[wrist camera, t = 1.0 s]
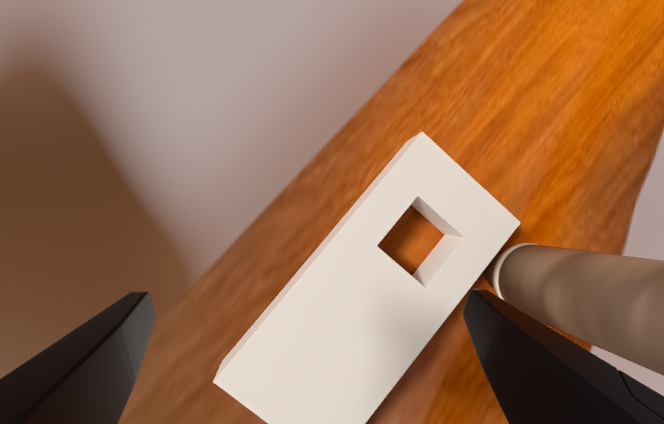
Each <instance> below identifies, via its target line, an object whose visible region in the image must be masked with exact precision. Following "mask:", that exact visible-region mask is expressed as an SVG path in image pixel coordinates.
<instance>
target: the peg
mask: <svg viewBox="0 0 664 424" xmlns="http://www.w3.org/2000/svg"><path fill="white" fill-rule="evenodd" d="M485 274H486V279H487V281H488V283H489V284H490V286H491V287H492V288H494V291H495V293H496V296H498V297H499V298H501V299H503V300H504V301H506V302H507V303H509V304H511V305H512V306H514V307H516V308H517V309H519V310H521V311H522V312H524V313H526V314H527V315H529V316H531V317H532V318H534V319H536V320H537V321H539V322H541V323H544V324H546V325H548V326H551V327H553V328H555V329H558V330H560V331H562V332H565V333H567V334H569V335H571V336H574V337H576V338H578V339H581V340H583V341H585V342H588V343H590V344H592V345H595V346H597V347H599V348H601V349H604V350H606V351H608V352H611V353H613V354H615V355H618V356H620V357H622V358H625V359H627V360H629V361H632V362H634V363H636V364H638V365H641V366H643V367H645V368H648V369H650V370H652V371H655V372H657V373H659V374H662V375H664V261H660V260H652V259H645V258H644V259H643V258H637V257H628V256H621V255H613V254H605V253H597V252H590V251H582V250H574V249H566V248H558V247H550V246H542V245H538V244H532V243H519V244H516V245H513V246H511V247H509V248H508V249H506V250H505V251H504V252H503V253H499V254H496V255H495V257H494V258H493V259H492V260H491V262H490V263H489V264H488V266H487V267H486V271H485Z"/></svg>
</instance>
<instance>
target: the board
mask: <svg viewBox="0 0 664 424" xmlns="http://www.w3.org/2000/svg"><path fill="white" fill-rule="evenodd" d="M410 205H412V206H413V207H414V208H415V209H416V210H417V211H418V212H419V213H421V214H422V215H423V216H424V217H425V218H426V219H427V220H428V221H430V222H431V223H432V224H433V225H434V226H435V227H436V228H437V229H439V230H440V231H441V232H442V233H443V234H444V236H443V237H442V239H441V240H440V241H439V242H438V244H437V245H436V246H435V247H434V249H433V250H432V251H431V252H430V254H429V255H428V256H427V257H426V259H425V260H424V261H423V262H422V264H421V265H420V266H419V267H418V269H417V270H416V271H415V272H414V274H413V275H412V276H411V275H410V274H409V273H408V272H406V271H405V270H404V269H403V268H402V267H401V266H400V265H398V264H397V263H396V262H395V261H394V260H393V259H391V258H390V257H389V256H388V255H387V254H386V253H384V252H383V251H382V250H381V249H380V248H379V247H377V245H378V244H379V243H380V241H381V240H382V239H383V238H384V237H385V235H386V234H387V233H388V232H389V231H390V229H391V228H392V227H393V226H394V224H395V223H396V222H397V221H398V220H399V218H400V217H401V216H402V215H403V213H404V212H405V211H406V210H407V209H408V207H409V206H410ZM520 223H521V222H520V221H519V220H517V219H516V218H515V217H514V216H513V215H512V214H511V213H510V212H509V211H508V210H507V209H506V208H504V207H503V206H502V205H501V204H500V203H499V202H498V201H497V200H496V199H495V198H494V197H493V196H492V195H490V194H489V193H488V192H487V191H486V190H485V189H484V188H483V187H482V186H481V185H480V184H479V183H477V182H476V181H475V180H474V179H473V178H472V177H471V176H470V175H469V174H468V173H467V172H466V171H465V170H463V169H462V168H461V167H460V166H459V165H458V164H457V163H456V162H455V161H454V160H453V159H452V158H450V157H449V156H448V155H447V154H446V153H445V152H444V151H443V150H442V149H441V148H440V147H439V146H438V145H436V144H435V143H434V142H433V141H432V140H431V139H430V138H429V137H428V136H427V135H426V134H425V133H423V132H421V133H419V134H418V135H416V136H414V137H413V138H411V139H410V140H408V141H407V142H406V143H405V144H404V145H403V146H402V148H401V149H400V150H399V151H398V152H397V154H396V155H395V156H394V157H393V158H392V160H391V161H390V162H389V163H388V164H387V166H386V167H385V168H384V169H383V170H382V171H381V173H380V174H379V175H378V176H377V177H376V179H375V180H374V181H373V182H372V183H371V185H370V186H369V187H368V188H367V189H366V191H365V192H364V193H363V194H362V195H361V196H360V198H359V199H358V200H357V201H356V202H355V204H354V205H353V206H352V207H351V208H350V210H349V211H348V212H347V213H346V214H345V216H344V217H343V218H342V219H341V220H340V221H339V223H338V224H337V225H336V226H335V227H334V229H333V230H332V231H331V232H330V233H329V235H328V236H327V237H326V238H325V239H324V241H323V242H322V243H321V244H320V245H319V246H318V248H317V249H316V250H315V251H314V252H313V254H312V255H311V256H310V257H309V258H308V260H307V261H306V262H305V263H304V264H303V266H302V267H301V268H300V269H299V270H298V271H297V273H296V274H295V275H294V276H293V277H292V279H291V280H290V281H289V282H288V283H287V285H286V286H285V287H284V288H283V289H282V291H281V292H280V293H279V294H278V295H277V296H276V298H275V299H274V300H273V301H272V302H271V304H270V305H269V306H268V307H267V308H266V310H265V311H264V312H263V313H262V314H261V316H260V317H259V318H258V319H257V320H256V321H255V323H254V324H253V325H252V326H251V327H250V329H249V330H248V331H247V332H246V333H245V335H244V336H243V337H242V338H241V339H240V341H239V342H238V343H237V344H236V345H235V346H234V348H233V349H232V350H231V351H230V352H229V354H228V355H227V356H226V357H225V358H224V360H223V361H222V363H221V365H220V367H219V369H218V372H217V374H216V376H215V378H214V381H213V382H214V383H215V384H216V385H218V386H219V387H220V388H222V389H223V390H224V391H226V392H227V393H228V394H230V395H231V396H232V397H234V398H235V399H236V400H238V401H239V402H240V403H242V404H243V405H244V406H246V407H247V408H248V409H249V410H251V411H252V412H253V413H255V414H256V415H257V416H259V417H260V418H261V419H263V420H264V421H265V422H267V423H268V424H365V423H366V422H367V420H368V419H369V418H370V417H371V415H372V414H373V413H374V411H375V410H376V409H377V408H378V406H379V405H380V404H381V402H382V401H383V400H384V398H385V397H386V396H387V395H388V393H389V392H390V391H391V389H392V388H393V387H394V386H395V384H396V383H397V382H398V380H399V379H400V378H401V377H402V375H403V374H404V373H405V371H406V370H407V369H408V368H409V366H410V365H411V364H412V362H413V361H414V360H415V358H416V357H417V356H418V355H419V353H420V352H421V351H422V349H423V348H424V347H425V346H426V344H427V343H428V342H429V340H430V339H431V338H432V337H433V335H434V334H435V333H436V331H437V330H438V329H439V328H440V326H441V325H442V324H443V322H444V321H445V320H446V318H447V317H448V316H449V315H450V313H451V312H452V311H453V309H454V308H455V307H456V306H457V304H458V303H459V302H460V300H461V299H462V298H463V297H464V295H465V294H466V293H467V291H468V290H469V289H470V288H471V286H472V285H473V284H474V282H475V281H476V280H477V278H478V277H479V276H480V275H481V273H482V272H483V271H484V269H485V268H486V267H487V266H488V264H489V263H490V262H491V260H492V259H493V258H494V257H495V255H496V254H497V253H498V251H499V250H500V249H501V248H502V246H503V245H504V244H505V242H506V241H507V240H508V238H509V237H510V236H511V235H512V233H513V232H514V231H515V229H516V228H517V227H518V226H519V224H520Z"/></svg>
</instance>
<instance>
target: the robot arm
mask: <svg viewBox="0 0 664 424" xmlns="http://www.w3.org/2000/svg"><path fill="white" fill-rule="evenodd" d="M463 317H464V321H465V323H466V326H467V329H468V331H469V334H470V337H471V340H472V342H473V345H474V348H475V351H476V353H477V356H478V359H479V361H480V364H481V366H482V368H483V370H484V373H485V375H486V377H487V379H488V381H489V383H490V385H491V387H492V389H493V391H494V394H495V396H496V398H497V400H498V402H499V404H500V406H501V408H502V410H503V412H504V414H505V416H506V418H507V421H508V423H509V424H664V396H662V395H660V394H658V393H657V392H655V391H654V390H652V389H650V388H649V387H647V386H645V385H643V384H642V383H640V382H638V381H637V380H635V379H633V378H632V377H630V376H628V375H627V374H625V373H624V372H622V371H620V370H617V369H616V368H615V367H613V366H612V365H610V364H609V363H607V362H605V361H604V360H602V359H600V358H598V357H597V356H595V355H594V354H592V353H590V352H589V351H587V350H585V349H584V348H582V347H580V346H579V345H577V344H575V343H574V342H572V341H570V340H569V339H567V338H565V337H564V336H562V335H560V334H559V333H557V332H556V331H554V330H552V329H551V328H549V327H547V326H546V325H544V324H542V323H541V322H539V321H537V320H536V319H534V318H532V317H531V316H529V315H527V314H526V313H524V312H522V311H521V310H519V309H517V308H516V307H514V306H512V305H511V304H509V303H507V302H506V301H504V300H503V299H501V298H499V297H498V296H496V295H494V294H493V293H491V292H489V291H488V290H486V289H472V290H471V291H470V292H469V294H468V297H467V300H466V303H465V305H464V308H463ZM154 322H155V313H154V308H153V304H152V299H151V295H150V293H149V292H146V291H138V292H137V291H135V292H130V293H129V294H127V295H126V296H124V297H122V298H121V299H119V300H118V301H116V302H115V303H113V304H112V305H110V306H109V307H107V308H106V309H104V310H103V311H101V312H100V313H98V314H97V315H95V316H94V317H93V318H91V319H89V320H88V321H86V322H85V323H83V324H82V325H80V326H79V327H77V328H76V329H74V330H73V331H71V332H70V333H68V334H67V335H65V336H64V337H62V338H61V339H60V340H58V341H57V342H55V343H53V344H52V345H50V346H49V347H47V348H46V349H44V350H43V351H41V352H40V353H38V354H37V355H36V356H34V357H32V358H31V359H29V360H28V361H26V362H25V363H23V364H22V365H20V366H19V367H17V368H16V369H14V370H13V371H11V372H10V373H8V374H7V375H5V376H4V377H2V378H1V379H0V424H118V422H119V419H120V417H121V415H122V413H123V410H124V408H125V406H126V403H127V401H128V399H129V397H130V394H131V392H132V390H133V387H134V385H135V382H136V380H137V377H138V374H139V371H140V368H141V364H142V361H143V358H144V355H145V352H146V348H147V345H148V342H149V339H150V336H151V332H152V329H153V326H154Z"/></svg>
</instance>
